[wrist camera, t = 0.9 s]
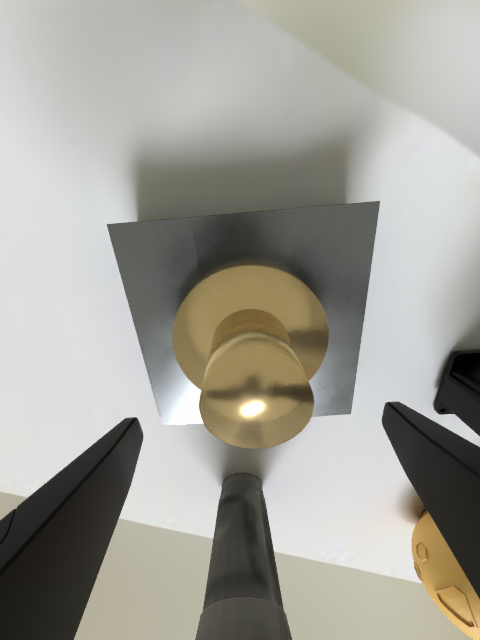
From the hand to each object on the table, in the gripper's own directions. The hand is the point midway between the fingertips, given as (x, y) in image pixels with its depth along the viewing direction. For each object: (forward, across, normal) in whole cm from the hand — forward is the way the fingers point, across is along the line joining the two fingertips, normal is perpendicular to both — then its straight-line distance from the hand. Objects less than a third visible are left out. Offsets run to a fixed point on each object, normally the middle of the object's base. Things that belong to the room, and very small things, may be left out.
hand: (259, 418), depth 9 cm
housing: (+11, 0, 0) cm, 11 cm away
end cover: (+9, 0, 0) cm, 9 cm away
